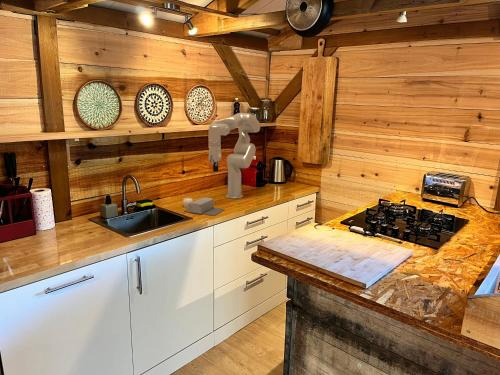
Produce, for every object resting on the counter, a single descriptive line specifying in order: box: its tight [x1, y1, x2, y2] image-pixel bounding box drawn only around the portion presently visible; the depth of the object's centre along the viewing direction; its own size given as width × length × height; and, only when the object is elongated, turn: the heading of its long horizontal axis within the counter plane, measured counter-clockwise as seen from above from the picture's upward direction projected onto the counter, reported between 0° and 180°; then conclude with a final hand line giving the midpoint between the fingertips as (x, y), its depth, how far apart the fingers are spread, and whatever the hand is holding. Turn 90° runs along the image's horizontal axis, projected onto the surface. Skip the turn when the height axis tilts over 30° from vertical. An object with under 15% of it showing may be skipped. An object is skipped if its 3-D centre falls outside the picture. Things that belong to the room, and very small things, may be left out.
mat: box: [183, 207, 226, 217], centre depth 245 cm, size 15×22×1 cm
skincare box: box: [190, 196, 215, 215], centre depth 244 cm, size 8×7×16 cm
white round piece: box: [182, 197, 194, 208], centre depth 255 cm, size 6×6×5 cm
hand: (215, 171), depth 255 cm, fingers closed
